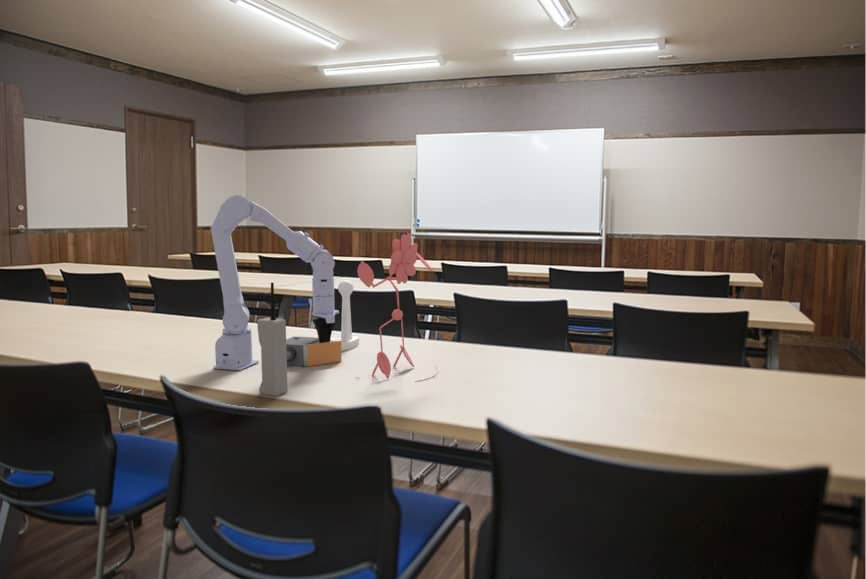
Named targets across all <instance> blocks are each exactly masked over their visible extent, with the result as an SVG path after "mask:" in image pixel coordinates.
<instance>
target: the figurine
mask: <svg viewBox="0 0 866 579" xmlns="http://www.w3.org/2000/svg"><path fill="white" fill-rule="evenodd" d="M412 242H413V240H412V234H411V233H407V234H404V233H403V234H402V235H401V236H400V239H398V238H395V239H394V240H392V243H391V246H392V249H393V250H392V251H393V252H392V254H391V256H390V263H389V268H388V274H389V276H387V277H386V278H384V279H383V280H380V281H379V282H377V283H375V284H374V280H375V274H374V272H373V269H372V268H371V267H370V265H369V264H367V263H365V262H364V260H362V261H360V264H358V266H357V276H358V278H359V280H360V282H362V284H364V285H365V286H366V287H367V288H370V287H372V288H373V289H374V288H376V287H377V286H380V285H381V284H383V283H385V282H387V281H388V282H390V283H391V285H392V287H393V288H394V289H395V292H396V302H397V303H396V304H397V309H394V310H393V311H392V312H391V317H392V318H391V319H390V320H388V321H387V322H385V323H384V324H382V325H381V326H380V327H379V328H378V329H379V338H380V351H379V352H378V353H377V354H376V362H377V363H376V364H375V366H374V369H373V371H372V375H375V373H376V371H377V369H378V368H379V370H380V372H381V373H382V374H383V375H384V377H386V379H389V378H390V375H391V371H392V368H391V367H394V368H396V366H397V364H398V363H399V362H398V361H399V359H400V358H401V355H402V354H403V355H404V357H405V358H406V360H407V361H408V363H409V364H410V365H411V366H412V367H413V368H414V367H415V365H414V363H413V361H412V358H411V357H410V355H409V353H408V352H407V350H406V348H405V340H404V339H405V338H404V324H403V323H404V322H403V316H404V314H403V311H402V310H401V309H400V296H399V295H400V293H399V289H398V287H397V286H396V285H395V283H394V282H393V281H395V280H396V284H397V285H401V283H403V284H407V283H408V279H409V278H408V276H410V277H413V276H415V274H416V272H417V270H416V267H415V263H416V262H417V260H420V262H421V263H422V264H423V265H424V266H425V268H427V269H429V271H431V272H434V270H433V269H432V267H431V266H430V265H429V263H428V262H427V261H426V260H425V259H424V257H422V255H420V253H419V252H418V243H417V242H415V243H413V244H412ZM394 274H395V277H392V276H393V275H394ZM394 320H395V321H400V324H401V325H400V326H401V337H402V344H400V345H399V347H400V351H399V353H398V355H397V357H396V359H395V361H394V364H393V366H391V361H390V360H389V357H388V355H387V354H386V353H385V352H383V351H384V349H383V341H382V340H383V339H382V338H383V337H382V336H383V335H382V328H383V327H384V326H386V325H388V324H389V323H392V321H394ZM434 368H435V369H436V370H438V368H437V367H436V366H434ZM438 373H439V372H436V374H435V375H433V376H431V377H429V378H424V379H420V380H419V382H422V381H426V380H429V379H434V378H435V376H436V375H438ZM355 378H356V379H358V380H360V378H359V377H357V376H356V377H355ZM414 382H415V383H416V382H418V380H416V381H414Z"/></svg>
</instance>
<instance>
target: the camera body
mask: <svg viewBox="0 0 866 579" xmlns="http://www.w3.org/2000/svg"><path fill="white" fill-rule="evenodd" d="M316 343H320V342H319V338H318V337H311V336H299V335H295V336H292V337H289V338H286V352H287V366H297V367H298V366H299V367H304V354H303V345H308V344H316Z"/></svg>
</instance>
